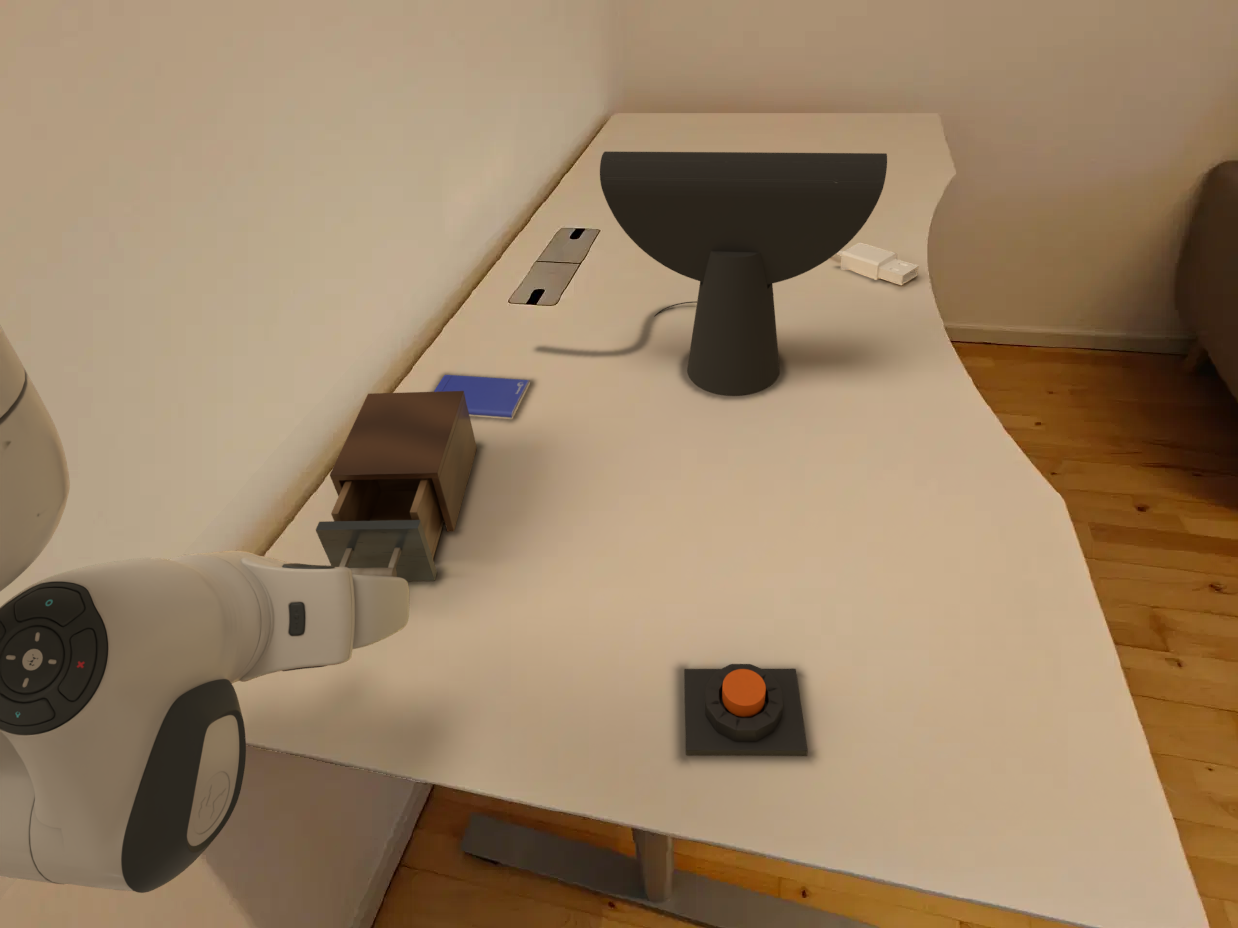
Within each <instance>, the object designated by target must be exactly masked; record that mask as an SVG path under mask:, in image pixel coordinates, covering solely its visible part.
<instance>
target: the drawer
mask: <svg viewBox="0 0 1238 928" xmlns="http://www.w3.org/2000/svg"><path fill="white" fill-rule="evenodd" d="M330 515H331V517H332V520H333V521H332V520H330V521H329V520H328V521H327V520H326V521H318V523H317V526H316V528H315V532H316V534H317V536H318V539H319V541H320V543H321V545H322V548H323V550H324V553H325V555H326V557H327V559H328V562H329V564H330V566H334V567H347V568H349V569H351V571H352V574H357V575H375V576H391V577H400V578H403V579H405V580H406V581H407V582H425V581H426V582H427V581H428V582H429V581H432V582H433V581H436V577H437V574H438V571H437V567H436V564H435V561H434V557H435V554H436V550H437V547H438V544H439V540H440V537H441V533H442V530H443V527H444V524H445V522H444V518H443V515H442V511H441V508H440V505H439V501H438V498H437V494H436V491H435V488H434V484H433V481H432V478H425V479H377V480H346V481H345V483H344V485H343V488H342V490H341V492H340V494H339V497H338V496H337V499H336V501H335V503H334V506H333V508H332V510H331V512H330Z"/></svg>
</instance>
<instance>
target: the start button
mask: <svg viewBox="0 0 1238 928" xmlns="http://www.w3.org/2000/svg"><path fill="white" fill-rule="evenodd" d="M765 693H766V686H765V682H764V680H763V679H762V678H761V676H760V675H758V674H757V673H756V672H754V671H751V670H748V669H738V670H734V671H732V672H730V673H729V674H728V675H727V676H726V677H725V679H724V681H723V687H722V700H723V704H724V706H725V707H726V709H727V710H728V711H729V712H731V713H732V714H734V715H736V716H739V717H751V716H754V715H756V714H757V713H759V712H760V711H761V710H762V708H763V706H764V703H765Z"/></svg>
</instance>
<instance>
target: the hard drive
mask: <svg viewBox="0 0 1238 928" xmlns="http://www.w3.org/2000/svg"><path fill="white" fill-rule="evenodd" d="M530 384H531V380H530V379H520V378H519V379H518V378H505V377H490V376H489V377H488V376H474V375H473V376H472V375H458V374H444V375H443V376H442V378H441V380H440V381H439V383H438V384H437V385H436V386H435V389H434V390H433V392H441V391H464V395H465V399H466V403H467V408H468V412H469V416H470V417H481V418H492V419H493V418H494V419H506V420H513V419H514V418H515V417H514V416H515V415H516V413H517V410H518V409H519V407H520V405H521V403H522V401H523V400H524V399H523V398H524V397H525V395H526V392H527V391H528V389H529V387H530Z"/></svg>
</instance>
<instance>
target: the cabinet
mask: <svg viewBox="0 0 1238 928" xmlns="http://www.w3.org/2000/svg"><path fill="white" fill-rule="evenodd" d="M477 449H478V447H477V441H476V437H475V434H474V430H473V425H472V420H471V416H469V412H468V408H467V403H466V399H465V395H464V391H441V392H434V391H412V392H411V391H410V392H408V391H407V392H377V393H376V392H375V393H367V395H366V397H365V400H364V401H363V403H362V406H361V408H360V410H359V412H358V414H357V416H356V418H355V420H354V423H353V424H352V427H351V429H350V431H349V433H348V435H347V437H346V440H345V442H344V444H343V446H342V448H341V450H340V452H339V455H338V456H337V459H336V461H335V462H334V465H333V467H332V469H331V472H330V473H329V478H330V480H331V481H332V484H333V487H334V489H335V491H336V494H337V498H338V497H339V494H340V492H341V490H342V488H343V485H344V483H345V481H346V480H377V479H425V478H432V481H433V484H434V488H435V491H436V494H437V498H438V501H439V505H440V508H441V511H442V515H443V518H444V525H445V528H446V531H447V532H449V533H450V532H455V529H456V526H457V522H458V518H459V514H460V511H461V507H462V504H463V500H464V496H465V493H466V489H467V486H468V482H469V478H470V475H471V471H472V467H473V464H474V461H475V456H476V453H477Z"/></svg>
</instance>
